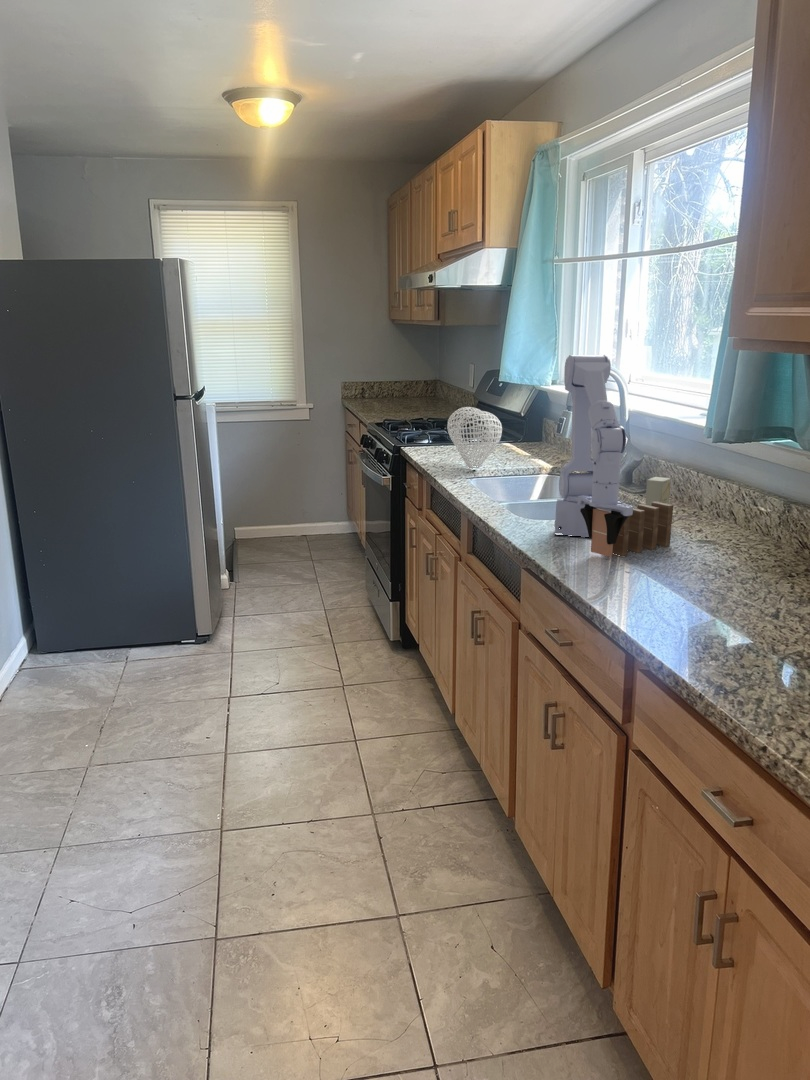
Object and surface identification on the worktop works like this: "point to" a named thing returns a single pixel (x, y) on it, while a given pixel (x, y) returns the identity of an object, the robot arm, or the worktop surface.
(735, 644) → the worktop surface
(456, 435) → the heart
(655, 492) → the skincare box
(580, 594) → the worktop surface
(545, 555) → the worktop surface
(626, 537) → the walnut tile
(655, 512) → the walnut tile
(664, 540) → the walnut tile
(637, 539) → the walnut tile
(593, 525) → the terracotta tile
